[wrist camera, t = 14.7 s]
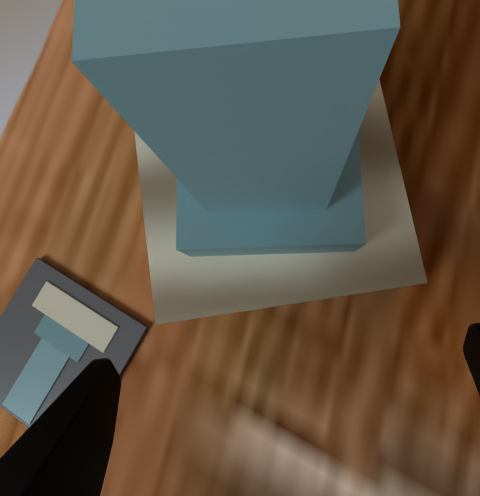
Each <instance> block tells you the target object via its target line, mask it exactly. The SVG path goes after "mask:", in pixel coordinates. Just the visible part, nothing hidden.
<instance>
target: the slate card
mask: <svg viewBox="0 0 480 496" xmlns="http://www.w3.org/2000/svg"><path fill="white" fill-rule="evenodd" d="M147 329H148V327H147V326H146V325H144V324H143V323H141V322H139V321H138V320H136V319H135V318H133V317H132V316H130V315H128V314H127V313H125V312H124V311H122V310H121V309H119V308H117V307H116V306H114V305H113V304H111V303H109V302H108V301H106V300H105V299H103V298H102V297H100V296H98V295H97V294H95V293H94V292H92V291H91V290H89V289H87V288H86V287H84V286H83V285H81V284H79V283H78V282H76V281H75V280H73V279H72V278H70V277H68V276H67V275H65V274H64V273H62V272H60V271H59V270H57V269H56V268H54V267H53V266H51V265H49V264H48V263H46V262H45V261H43V260H42V259H40V258H36V260H35V261H34V263H33V265H32V266H31V268H30V269H29V271H28V273H27V274H26V276H25V278H24V279H23V281H22V283H21V284H20V286H19V287H18V289H17V291H16V292H15V294H14V296H13V297H12V299H11V301H10V302H9V304H8V305H7V307H6V309H5V310H4V312H3V314H2V315H1V317H0V406H1V407H2V408H3V409H5V410H6V411H7V412H9V413H10V414H11V415H13V416H14V417H15V418H17V419H18V420H19V421H21V422H22V423H23V424H25V425H26V426H27V427H30V426H31V425H32V424H33V423H34V422H35V421H36V420H37V419H38V418H39V416H40V415H41V414H42V413H43V412H44V411H45V410H46V409H47V408H48V407H49V406H50V405H51V404H52V403H53V401H54V400H55V399H56V398H57V397H58V396H59V395H60V394H61V393H62V392H63V391H64V390H65V389H66V388H67V386H68V385H69V384H70V383H71V382H72V381H73V380H74V379H75V378H76V377H77V376H78V375H79V374H80V373H81V372H82V370H83V369H84V368H85V367H86V366H87V365H88V364H89V363H90V362H91V361H92V360H94V359H100V358H109V359H110V360H111V361H112V363H113V365H114V366H115V368H116V370H117V372H118V373H119V375H120V376H121V374H122V372H123V371H124V369H125V367H126V365H127V364H128V362H129V360H130V358H131V357H132V355H133V353H134V352H135V350H136V348H137V346H138V345H139V343H140V341H141V339H142V338H143V336H144V334H145V333H146V331H147Z"/></svg>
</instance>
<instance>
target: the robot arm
mask: <svg viewBox="0 0 480 496" xmlns="http://www.w3.org/2000/svg"><path fill="white" fill-rule="evenodd" d="M463 352H464V356H465V359H466V361H467V364H468V366H469V369H470V372H471V374H472V377H473V379H474V382H475V385H476V387H477V390H478V392H479V395H480V323H474V324H471V325H470V326H469V327H468V331H467V334H466V338H465V341H464V345H463ZM120 389H121V378H120V375H119V373H118V372H117V370H116V368H115V366H114V365H113V363H112V361H111V360H110V359H109V358H100V359H94V360H92V361H91V362H90V363H89V364H88V365H87V366H86V367H85V368H84V369H83V370H82V372H81V373H80V374H79V375H78V376H77V377H76V378H75V379H74V380H73V381H72V382H71V383H70V384H69V385H68V386H67V388H66V389H65V390H64V391H63V392H62V393H61V394H60V395H59V396H58V397H57V398H56V399H55V400H54V401H53V403H52V404H51V405H50V406H49V407H48V408H47V409H46V410H45V411H44V412H43V413H42V414H41V415H40V416H39V418H38V419H37V420H36V421H35V422H34V423H33V424H32V425H31V426H30V427H29V428H28V429H27V430H26V431H25V433H24V434H23V435H22V436H21V437H20V438H19V439H18V440H17V441H16V442H15V443H14V444H13V445H12V446H11V447H10V449H9V450H8V451H7V452H6V453H5V454H4V455H3V456H2V457H1V458H0V496H100V493H101V489H102V485H103V481H104V477H105V473H106V469H107V465H108V461H109V457H110V453H111V448H112V444H113V438H114V432H115V425H116V418H117V410H118V403H119V396H120Z"/></svg>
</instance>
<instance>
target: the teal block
mask: <svg viewBox="0 0 480 496" xmlns="http://www.w3.org/2000/svg"><path fill="white" fill-rule="evenodd" d="M399 29H400V18H399V7H398V0H75V8H74V26H73V43H72V60H71V61H72V62H73V63H74V64H75V65H76V67H77V68H78V69H79V70H80V71H81V72H82V73H83V74H84V76H85V77H86V78H87V79H88V80H89V81H90V82H91V83H92V84H93V86H94V87H95V88H96V89H97V90H98V91H99V92H100V93H101V94H102V96H103V97H104V98H105V99H106V100H107V101H108V102H109V103H110V104H111V106H112V107H113V108H114V109H115V110H116V111H117V112H118V113H119V114H120V116H121V117H122V118H123V119H124V120H125V121H126V122H127V123H128V124H129V126H130V127H131V128H132V129H133V130H134V131H135V132H136V133H137V134H138V136H139V137H140V138H141V139H142V140H143V141H144V142H145V143H146V144H147V146H148V147H149V148H150V149H151V150H152V151H153V152H154V153H155V154H156V156H157V157H158V158H159V159H160V160H161V161H162V162H163V163H164V164H165V166H166V167H167V168H168V169H169V170H170V171H171V172H172V173H173V174H174V176H175V177H176V178H177V201H176V250H177V251H180V252H182V253H184V254H186V255H188V256H190V257H199V256H232V255H265V254H298V253H331V252H355V251H357V250H358V249H359V248H361V247H362V246H363V245H365V244H366V238H365V223H364V207H363V192H362V176H361V161H360V146H359V128H360V126H361V123H362V121H363V118H364V116H365V113H366V111H367V108H368V106H369V103H370V101H371V98H372V96H373V93H374V91H375V88H376V86H377V84H378V81H379V79H380V76H381V74H382V71H383V69H384V66H385V64H386V61H387V59H388V56H389V54H390V51H391V49H392V46H393V44H394V41H395V39H396V37H397V34H398V32H399Z"/></svg>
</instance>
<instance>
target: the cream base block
mask: <svg viewBox="0 0 480 496" xmlns="http://www.w3.org/2000/svg"><path fill="white" fill-rule="evenodd" d="M134 132H135V131H134ZM135 141H136V150H137V159H138V168H139V177H140V186H141V195H142V204H143V214H144V223H145V232H146V241H147V250H148V259H149V268H150V277H151V286H152V295H153V305H154V314H155V323H156V325H157V324H164V323H170V322H177V321H183V320H190V319H196V318H203V317H209V316H216V315H222V314H229V313H236V312H242V311H249V310H255V309H262V308H268V307H275V306H281V305H288V304H294V303H301V302H307V301H314V300H320V299H327V298H333V297H340V296H346V295H353V294H359V293H366V292H372V291H379V290H385V289H392V288H398V287H405V286H411V285H418V284H424V283H428V282H427V278H426V274H425V270H424V266H423V261H422V257H421V253H420V249H419V244H418V240H417V236H416V232H415V228H414V223H413V219H412V215H411V211H410V206H409V202H408V198H407V194H406V190H405V185H404V181H403V177H402V173H401V169H400V164H399V160H398V156H397V152H396V147H395V143H394V139H393V135H392V131H391V126H390V122H389V118H388V114H387V110H386V105H385V101H384V97H383V93H382V88H381V84H380V80H379V81H378V84H377V86H376V88H375V91H374V93H373V96H372V98H371V101H370V103H369V106H368V108H367V111H366V113H365V116H364V118H363V121H362V123H361V126H360V128H359V146H360V161H361V176H362V192H363V207H364V223H365V238H366V244H365V245H363V246H362V247H361V248H359V249H358V250H357V251H355V252H331V253H298V254H265V255H232V256H199V257H190V256H188V255H186V254H184V253H182V252H180V251H177V250H176V201H177V178H176V177H175V176H174V174H173V173H172V172H171V171H170V170H169V169H168V168H167V167H166V166H165V164H164V163H163V162H162V161H161V160H160V159H159V158H158V157H157V156H156V154H155V153H154V152H153V151H152V150H151V149H150V148H149V147H148V146H147V144H146V143H145V142H144V141H143V140H142V139H141V138H140V137H139V136H138V134H137V133H136V132H135Z"/></svg>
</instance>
